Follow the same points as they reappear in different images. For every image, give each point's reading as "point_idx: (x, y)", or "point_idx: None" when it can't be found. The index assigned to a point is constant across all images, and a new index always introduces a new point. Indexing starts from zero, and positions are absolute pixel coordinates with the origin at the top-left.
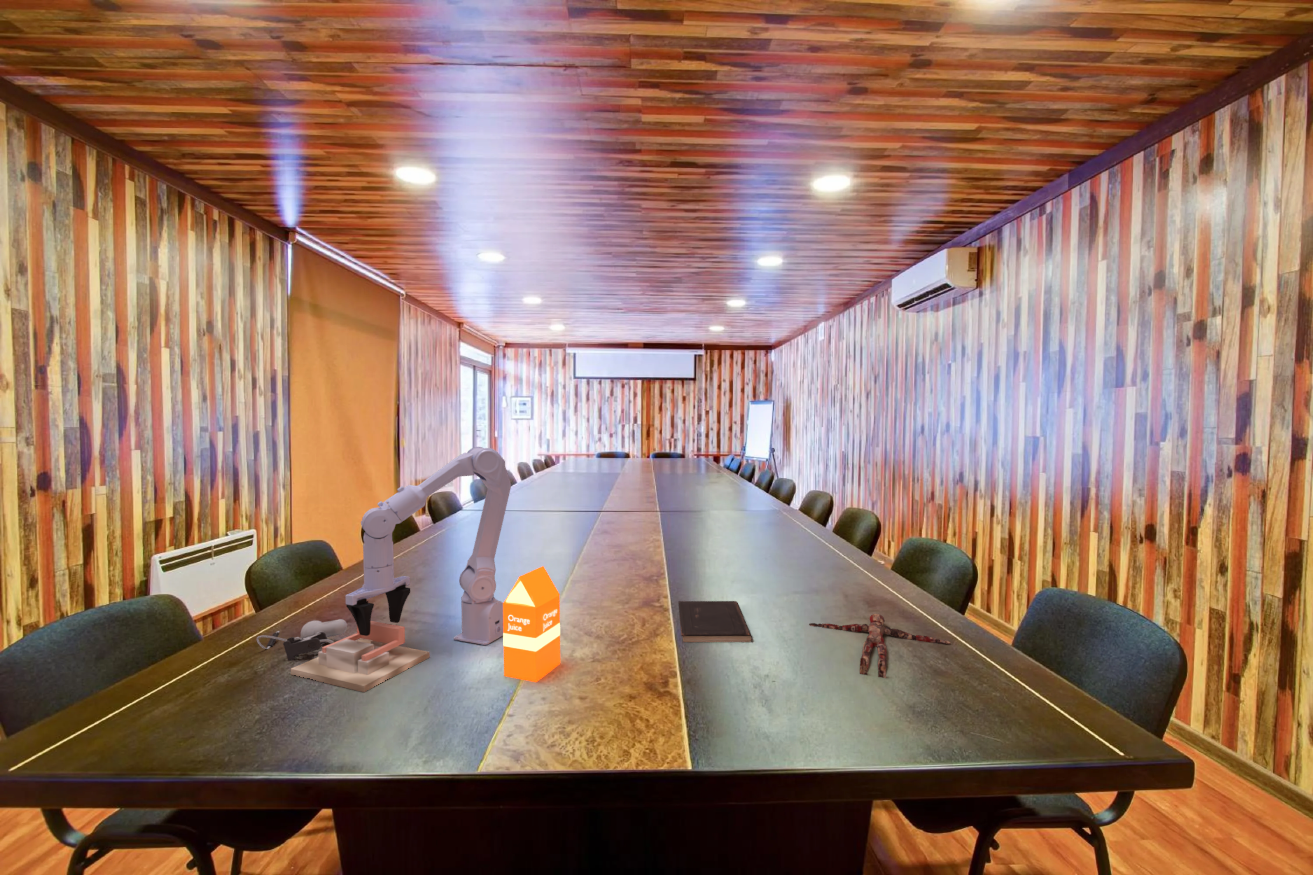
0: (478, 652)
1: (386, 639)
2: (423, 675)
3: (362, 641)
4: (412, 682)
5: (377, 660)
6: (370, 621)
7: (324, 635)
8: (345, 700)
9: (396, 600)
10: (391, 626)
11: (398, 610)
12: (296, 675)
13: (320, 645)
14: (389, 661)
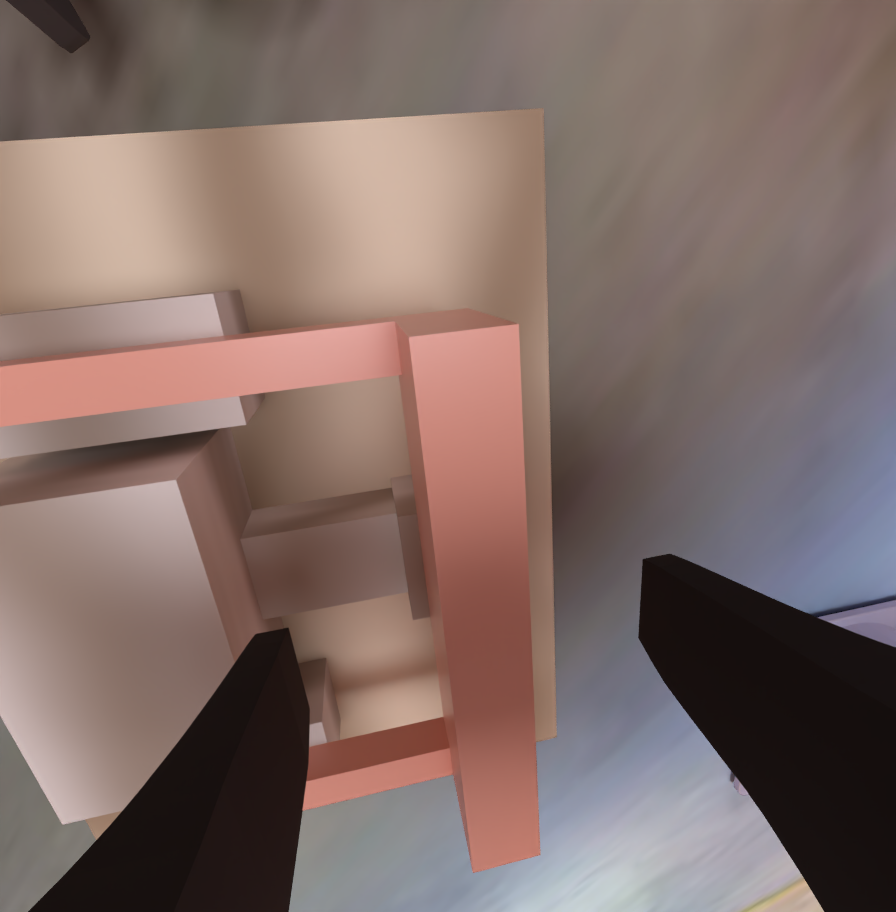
0: (664, 810)
1: (439, 670)
2: (391, 837)
3: (503, 193)
4: (319, 859)
5: None
6: (288, 897)
7: None
8: (5, 820)
9: (859, 883)
10: (495, 783)
11: (731, 761)
12: None
13: (66, 36)
14: (364, 691)
